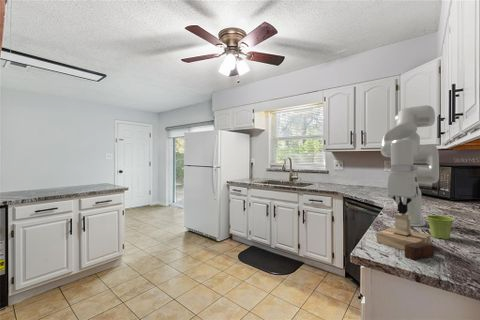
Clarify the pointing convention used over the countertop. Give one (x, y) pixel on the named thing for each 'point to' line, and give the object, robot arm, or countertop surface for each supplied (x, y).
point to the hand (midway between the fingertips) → (402, 213)
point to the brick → (419, 250)
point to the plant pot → (440, 226)
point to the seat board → (400, 238)
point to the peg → (402, 225)
